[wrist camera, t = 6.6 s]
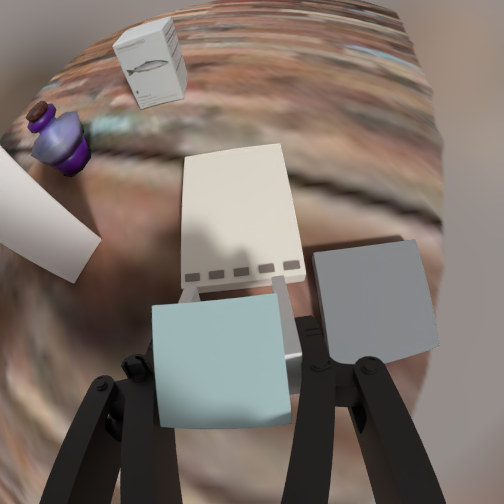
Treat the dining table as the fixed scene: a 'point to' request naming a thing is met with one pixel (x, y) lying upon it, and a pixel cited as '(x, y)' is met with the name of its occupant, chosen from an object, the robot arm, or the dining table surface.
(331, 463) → the robot arm
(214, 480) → the dining table surface
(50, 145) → the potion bottle
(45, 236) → the milk
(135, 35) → the supplement box
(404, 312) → the coaster
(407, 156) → the dining table surface
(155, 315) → the light blue tall block
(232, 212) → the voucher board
